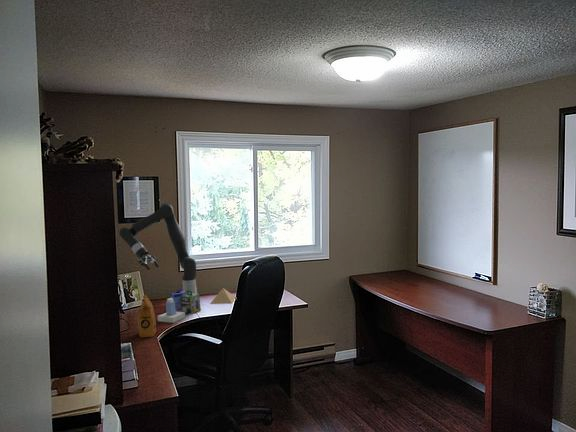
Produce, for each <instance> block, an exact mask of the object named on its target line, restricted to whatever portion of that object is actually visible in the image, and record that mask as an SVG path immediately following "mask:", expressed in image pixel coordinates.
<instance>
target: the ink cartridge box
mask: <svg viewBox="0 0 576 432" xmlns="http://www.w3.org/2000/svg"><path fill="white" fill-rule="evenodd" d="M183 295H186V292H184V291H183V290H182V289H177V290H176V292H171V293H170V294H169V297H170V298H173V300H174V301H175V310H176V312H182V305H181V296H183Z"/></svg>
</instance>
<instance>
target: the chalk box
mask: <svg viewBox="0 0 576 432" xmlns="http://www.w3.org/2000/svg"><path fill="white" fill-rule="evenodd" d="M186 291H187V294H186V295H183V296H181V305H182V310H181V312H185V314H188V315H189V314H190V315H193V314H195V313H197V312H200V311H201V300H200V299H201V297H200V296H201V295H200V294H199V293H197V294H194V293H192V292H191V291H189V290H186ZM188 292H190V294H189V293H188Z"/></svg>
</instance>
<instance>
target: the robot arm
mask: <svg viewBox="0 0 576 432" xmlns="http://www.w3.org/2000/svg"><path fill="white" fill-rule="evenodd" d="M161 220H164V221H165V224H166V227H167V228H166V229H167V232H168V235H169V239H170V241H171V243H172V246H173V248H174V249H175V252H176V254H177V257H178V263H179V264H180V267H181V268H182V269H183V275H182V289H183V290H182V291H184V292H186V294H187V291H186V290H189V291H191V292H192V293H194V294H198V288H197V282H196V281H197V279H196V277H197V262H196V260H195V259H194V258H192V257H190V256H189V254H188V251H187V248H186V245H187V244H186V239H185V236H184V233H183V230H182V228H181V227H180V225H179V223H178V221H177V219H176V216H175V212H174V208H173V206H172V204H170V203H168V202H165V203H162V204H161V205H160V207H159V209H157V210H156V211H154V212H153V213H151V214H149V215H148V216H144V217H142V218H141V219H139V220H137V221H135V222H134V223H132V224H131V227H129V228H127V227H122V228H120V229H119V230H118V234H119V236H120V237H121V239H122V240H123V241H124V242H126V243H127V245H128V246H129V248H130V249H131V251H132V252H133V253H134V255H136V257H137V262H138V263H139V265H140V266H142V267H145V268H146V270H147V271H150V270H151V266H150V265H149V263H151V264H153V265H154V266H155V267H156V268H160V264H159V263H158V261H159V259H158V258H157V257H156V256H155V255H154V254H151V255H150V254H149V250H147V248H146V247H145V246H144V245H143V244H142V243H141V242H140V240H139V239H138V238H137V237H135V236H136V235H137V234H138V233H140V232H142V231H143V230H145V229H147V228H148V227H150V226H152V225H153V224H155V223H157V222H158V221H159V222H160V221H161ZM188 293H189V294H190V292H188Z"/></svg>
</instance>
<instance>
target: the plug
mask: <svg viewBox="0 0 576 432" xmlns="http://www.w3.org/2000/svg"><path fill="white" fill-rule="evenodd" d="M165 311H166V312H165V313H167V315H169V316H173V315H175V314H176V310H175V301H174V300H173V298H167V299H166V302H165Z"/></svg>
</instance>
